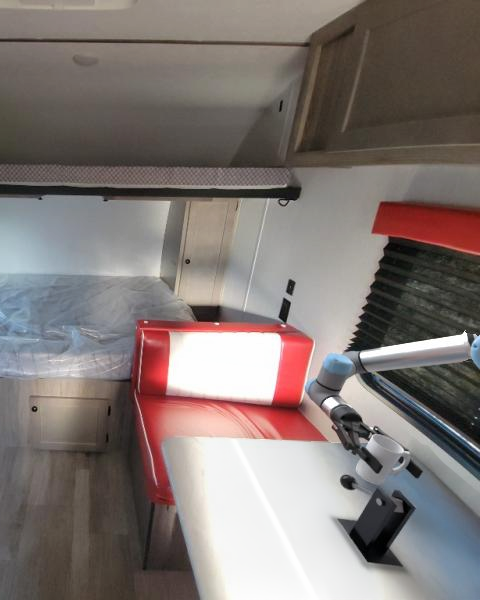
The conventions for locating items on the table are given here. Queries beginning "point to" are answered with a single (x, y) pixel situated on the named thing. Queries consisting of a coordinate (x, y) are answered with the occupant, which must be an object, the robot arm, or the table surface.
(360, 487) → the lever
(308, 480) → the table surface
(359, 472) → the mug
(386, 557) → the bracket
